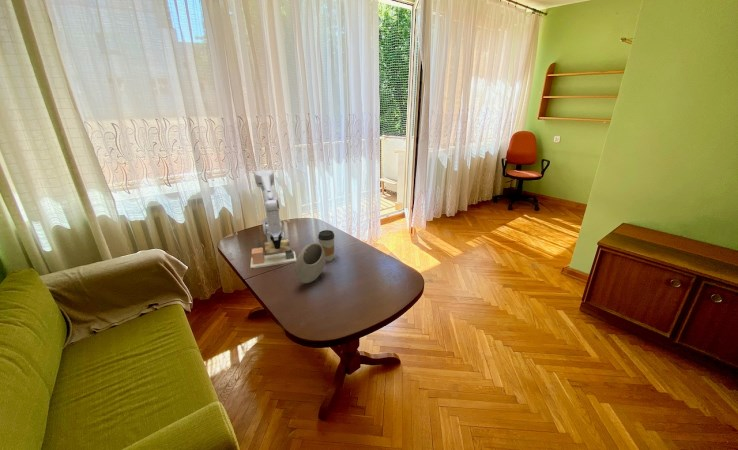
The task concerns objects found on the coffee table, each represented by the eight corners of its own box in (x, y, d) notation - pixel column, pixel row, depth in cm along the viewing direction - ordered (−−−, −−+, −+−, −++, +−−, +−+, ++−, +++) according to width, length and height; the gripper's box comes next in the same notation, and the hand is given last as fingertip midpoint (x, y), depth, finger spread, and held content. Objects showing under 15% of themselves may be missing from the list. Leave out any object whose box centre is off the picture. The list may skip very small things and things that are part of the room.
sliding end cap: (264, 257, 156) (262, 247, 153) (264, 262, 151) (262, 252, 148) (253, 259, 154) (252, 248, 152) (253, 264, 149) (251, 253, 147)
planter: (304, 293, 129) (300, 255, 122) (292, 288, 132) (287, 251, 125) (330, 273, 143) (328, 238, 136) (319, 269, 147) (317, 235, 139)
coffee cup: (338, 256, 158) (337, 231, 152) (330, 264, 151) (328, 237, 146) (325, 253, 162) (323, 228, 156) (316, 260, 155) (314, 234, 149)
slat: (289, 247, 157) (288, 239, 155) (290, 250, 154) (289, 241, 152) (265, 250, 153) (264, 242, 151) (265, 253, 151) (264, 244, 149)
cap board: (294, 252, 162) (294, 246, 161) (296, 261, 154) (295, 255, 152) (251, 259, 156) (250, 252, 155) (250, 268, 147) (249, 262, 146)
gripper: (265, 218, 153) (269, 242, 158) (265, 229, 140) (269, 254, 145) (279, 217, 155) (282, 240, 160) (281, 227, 142) (284, 252, 147)
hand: (277, 247), depth 153 cm, fingers closed on slat, 3 cm apart
